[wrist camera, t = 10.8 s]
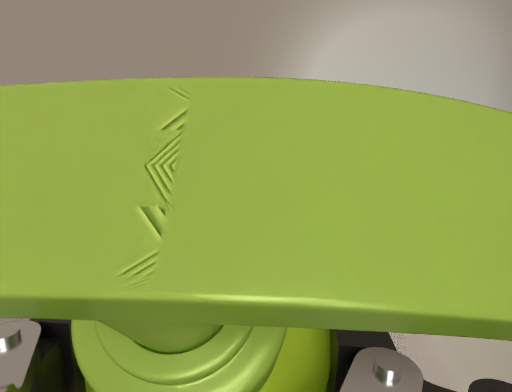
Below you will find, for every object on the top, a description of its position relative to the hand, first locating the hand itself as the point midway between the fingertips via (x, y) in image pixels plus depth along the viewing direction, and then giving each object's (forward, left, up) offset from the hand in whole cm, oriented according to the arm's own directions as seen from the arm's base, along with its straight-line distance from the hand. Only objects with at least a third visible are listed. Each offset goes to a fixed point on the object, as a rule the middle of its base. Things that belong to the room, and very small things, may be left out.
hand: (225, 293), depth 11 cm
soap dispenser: (0, +2, -11) cm, 11 cm away
